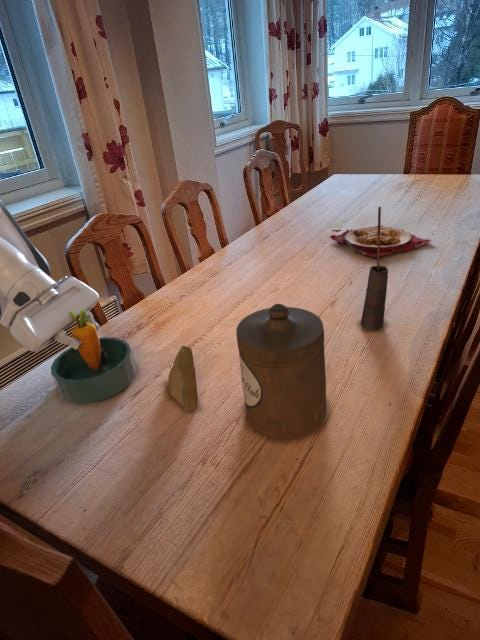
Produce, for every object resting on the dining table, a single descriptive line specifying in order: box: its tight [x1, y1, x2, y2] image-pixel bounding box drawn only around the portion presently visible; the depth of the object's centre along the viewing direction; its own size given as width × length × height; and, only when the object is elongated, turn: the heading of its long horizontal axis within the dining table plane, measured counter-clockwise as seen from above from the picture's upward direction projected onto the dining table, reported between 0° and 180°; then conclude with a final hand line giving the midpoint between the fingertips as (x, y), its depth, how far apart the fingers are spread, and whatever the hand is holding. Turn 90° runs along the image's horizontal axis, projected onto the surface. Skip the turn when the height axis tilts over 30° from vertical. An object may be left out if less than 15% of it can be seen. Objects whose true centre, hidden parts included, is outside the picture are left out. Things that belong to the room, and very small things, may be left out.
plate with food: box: [329, 225, 433, 258], centre depth 149 cm, size 24×26×4 cm
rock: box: [166, 345, 199, 412], centre depth 85 cm, size 11×9×10 cm
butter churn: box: [360, 206, 389, 331], centre depth 95 cm, size 9×10×28 cm
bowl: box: [50, 336, 137, 404], centre depth 93 cm, size 17×17×6 cm
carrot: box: [69, 309, 101, 370], centre depth 90 cm, size 5×5×15 cm
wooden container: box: [235, 303, 327, 439], centre depth 75 cm, size 15×15×22 cm
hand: (88, 338), depth 89 cm, fingers closed on carrot, 5 cm apart
